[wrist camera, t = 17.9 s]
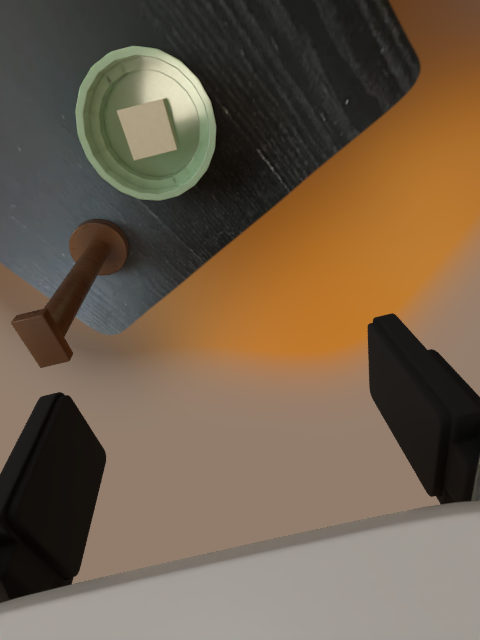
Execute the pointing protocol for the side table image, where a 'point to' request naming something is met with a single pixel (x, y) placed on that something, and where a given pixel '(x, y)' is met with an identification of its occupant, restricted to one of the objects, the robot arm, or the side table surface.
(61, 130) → the side table surface
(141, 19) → the side table surface
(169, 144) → the block
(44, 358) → the stand
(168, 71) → the green round bowl
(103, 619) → the robot arm
